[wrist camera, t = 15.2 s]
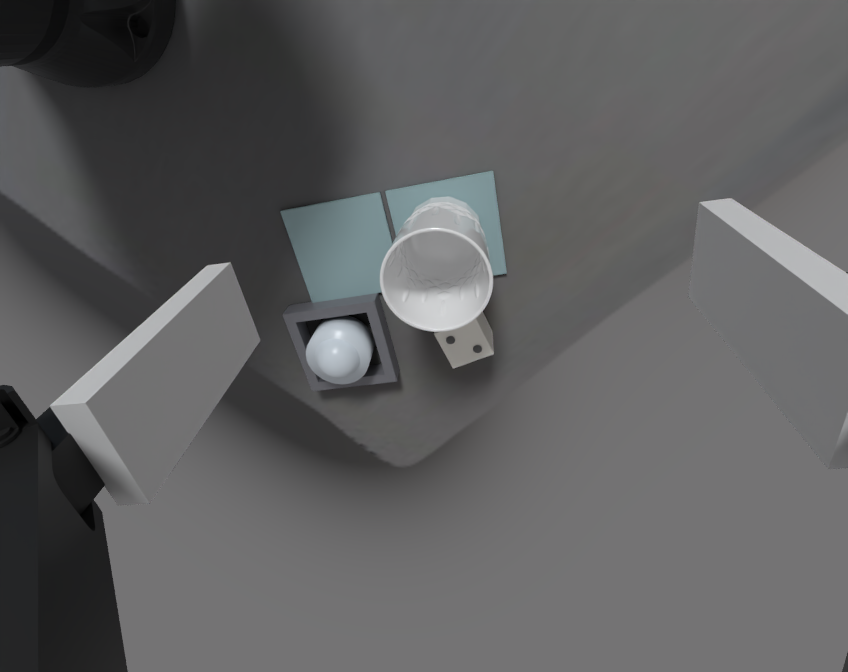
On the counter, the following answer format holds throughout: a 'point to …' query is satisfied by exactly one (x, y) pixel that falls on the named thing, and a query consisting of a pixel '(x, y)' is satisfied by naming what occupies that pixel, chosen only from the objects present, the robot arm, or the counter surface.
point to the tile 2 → (465, 188)
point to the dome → (340, 349)
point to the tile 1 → (340, 245)
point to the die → (467, 342)
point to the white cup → (438, 267)
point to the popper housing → (341, 307)
